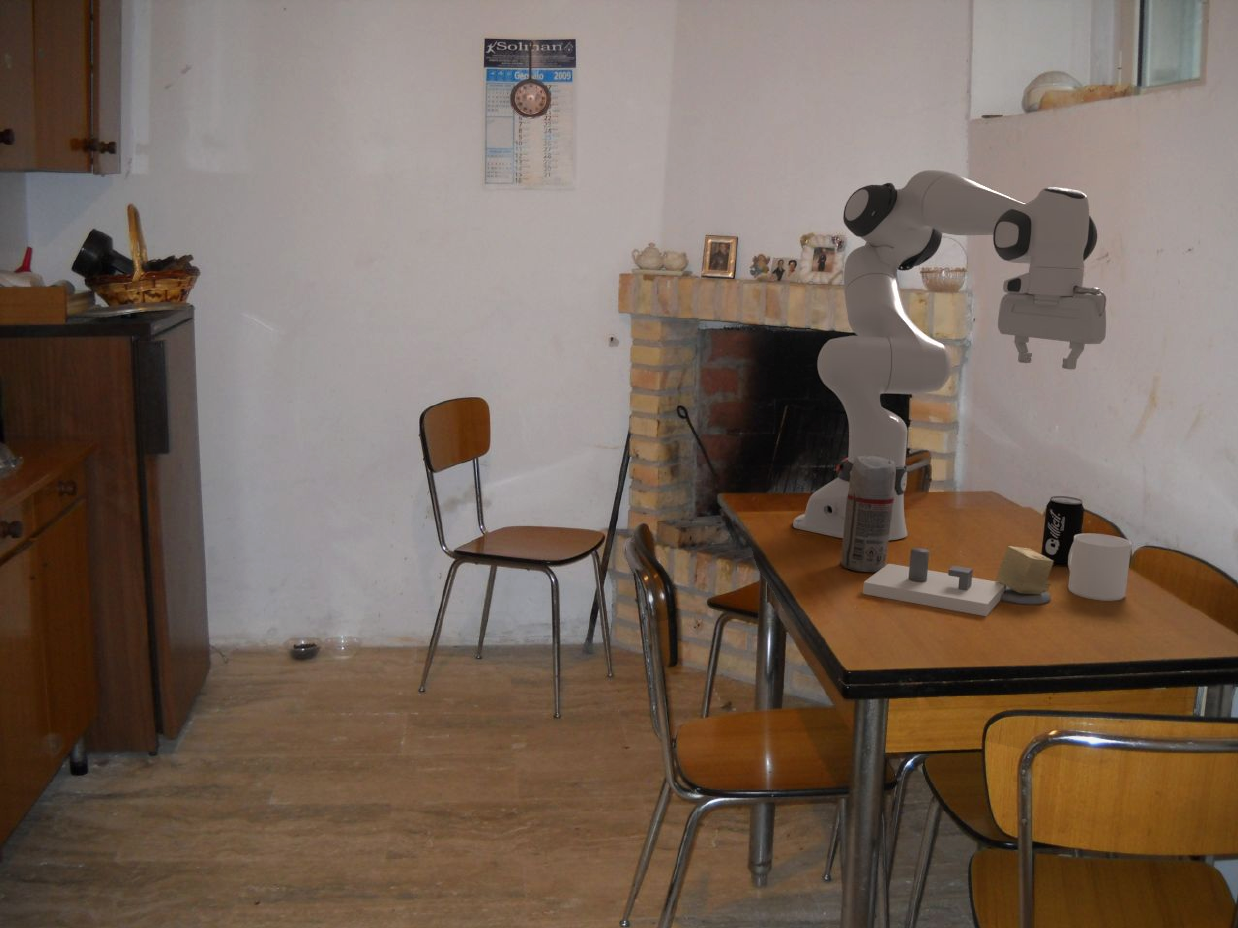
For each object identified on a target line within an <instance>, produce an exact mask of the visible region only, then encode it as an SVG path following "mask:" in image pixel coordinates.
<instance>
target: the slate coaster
mask: <svg viewBox="0 0 1238 928" xmlns="http://www.w3.org/2000/svg"><path fill="white" fill-rule="evenodd" d="M1051 596H1052V595H1051V594H1050V593H1049V592H1048V591H1047V590H1043V591H1042V594H1041V595H1037V594H1024V593H1019V592H1017V591H1015V590H1013V589H1011V588H1010V587H1008V586H1006V591H1005V592H1004V594H1003V595H1002V596H1001V600H1000V601H1002V602H1006V603H1012V604H1018V605H1027V606H1028V605H1032V606H1033V605H1034V606H1035V605H1036V606H1037V605H1044V604H1047V603H1049V602H1050V601H1051Z"/></svg>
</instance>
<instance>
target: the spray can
mask: <svg viewBox="0 0 1238 928" xmlns="http://www.w3.org/2000/svg"><path fill="white" fill-rule="evenodd" d="M895 475H896V464H895V462H894V461H892V460H886V459H885V458H884V457H882V456H879V455H875V454H874V455H869V456H861V457H859V456H858V457H855V460H854V463H853V467H852V471H851V476H850V484H849V492H848V496H847V501H846V511H845V523H844V532H843V538H842V545H841V559H840V561H839V563H840V564H841V566H842V567H843V568H845V569H849V570H851V571H855V572H861V573H877V572H878V571H879V570H881V569H882V568H884V567H885V566H886V561H887V556H888V545H889V541H890V540H889V533H890V525H891V520H892V509H893V502H894V486H895Z"/></svg>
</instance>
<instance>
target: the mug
mask: <svg viewBox="0 0 1238 928" xmlns="http://www.w3.org/2000/svg"><path fill="white" fill-rule="evenodd" d="M1132 543H1133V542H1131V541H1130V540H1128V539H1126V538H1123V537H1119V536H1115V535H1111V534H1103V533H1091V532H1087V533H1086V532H1085V533H1082V534H1077V535H1075V536H1074V542H1073V543H1072V546H1071V548H1070V552H1069V556H1068V566H1067V567H1068V570H1069V578H1068V586H1067V587H1068V588H1067V589H1068V590H1069V592H1070V593H1072V594H1073V595H1076V596H1078V597H1082V598H1084V599H1089V600H1094V601H1103V602H1104V601H1105V602H1115V601H1121V600H1123V599H1124V597H1125V596H1126V593H1127V592H1126V591H1127V583H1128V575H1129V566H1130V560H1131V559H1130V558H1131V552H1132V551H1131V550H1132Z"/></svg>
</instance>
